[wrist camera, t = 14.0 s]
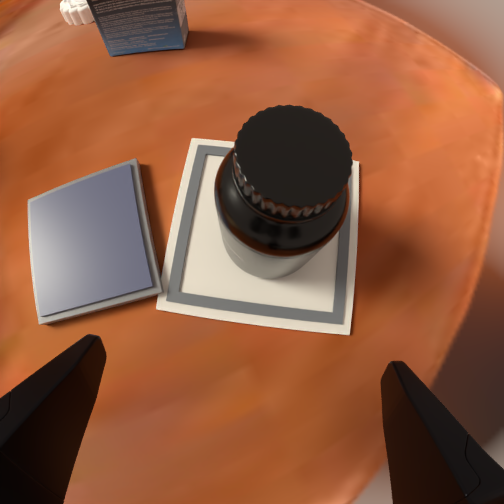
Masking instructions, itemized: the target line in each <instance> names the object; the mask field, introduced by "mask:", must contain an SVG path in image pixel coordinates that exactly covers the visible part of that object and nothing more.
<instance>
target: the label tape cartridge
mask: <svg viewBox="0 0 504 504" xmlns="http://www.w3.org/2000/svg"><path fill="white" fill-rule="evenodd" d="M86 1H87V3H88V6H89V8H90V10H91V13H92V15H93V18H94V20H95V22H96V25H97V27H98V29H99V32H100V34H101V36H102V39H103V41H104V43H105V46H106V48H107V50H108V53H109V55H110V56H117V55H123V54H130V53H137V52H146V51H156V50H168V49H184V48H185V44H186V40H187V35H188V21H187V15H186V8H185V2H184V0H86Z"/></svg>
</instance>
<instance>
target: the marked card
mask: <svg viewBox="0 0 504 504" xmlns="http://www.w3.org/2000/svg"><path fill="white" fill-rule="evenodd" d="M234 143H235V142H229V141H219V140H208V139H196V138H192V140H191V144H190V148H189V151H188V155H187V159H186V163H185V167H184V171H183V176H182V180H181V184H180V188H179V193H178V197H177V201H176V206H175V210H174V215H173V220H172V224H171V229H170V234H169V239H168V244H167V249H166V254H165V260H164V265H163V270H162V276H161V281H162V285H163V289H164V293H161V294H158V299H157V306H156V309H158V310H163V311H169V312H174V313H180V314H186V315H192V316H198V317H204V318H211V319H217V320H224V321H231V322H238V323H245V324H252V325H260V326H268V327H276V328H284V329H293V330H302V331H311V332H321V333H332V334H343V335H350V327H351V318H352V308H353V297H354V285H355V272H356V256H357V237H358V207H359V162H358V161H353V160H352V161H353V165H352V167H351V169H352V174H351V176H350V178H349V180H348V185H349V193H350V200H349V208H348V212H347V215H346V218H345V221H344V223H343V225H342V226H341V228H340V230H339V231H338V232H337V234H336V235H335V236H334V237H333V238H332V240H331V241H330V242H329V243H328V244H327V245H325V246H324V247H323V248H322V249H321V250H320V251H319V252H318V253H317V254H316V255H315V256H314V257H313V258H312V259H310V260H309V261H308V262H307V263H306V264H305V265H304V266H303V267H301V268H300V269H299V270H297V271H296V272H294V273H292V274H290V275H288V276H285V277H282V278H276V279H265V278H259V277H255V276H253V275H250V274H248V273H246V272H245V271H243V270H242V269H240V268H239V267H238V266H237V265H236V264H235V263H234V262H233V261H232V260H231V258H230V257H229V255H228V253H227V251H226V249H225V247H224V243H223V240H222V236H221V231H220V226H219V221H218V216H217V211H216V206H215V199H214V183H215V178H216V174H217V171H218V168H219V166H220V164H221V162H222V160H223V159H224V157H225V156H226V154H227V153H228V152H229V151H230V150H231V149H232V148H233V147H234Z"/></svg>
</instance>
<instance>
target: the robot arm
mask: <svg viewBox="0 0 504 504" xmlns="http://www.w3.org/2000/svg"><path fill="white" fill-rule="evenodd" d="M105 363H106V351H105V348H104V346H103V343H102V340H101V338H100V337H99V336H97V335H92V334H88V335H86V336H84V337H83V338H82V339H80V340H79V341H77V342H76V343H75V344H73V345H72V346H70V347H69V348H68V349H66V350H65V351H63V352H62V353H61V354H59V355H58V356H57V357H55V358H54V359H52V360H51V361H50V362H48V363H47V364H46V365H44V366H43V367H42V368H40V369H39V370H37V371H36V372H35V373H33V374H32V375H31V376H29V377H28V378H27V379H25V380H24V381H23V382H21V383H20V384H19V385H17V386H16V387H15V388H13V389H12V390H11V391H9V392H8V393H7V394H5V395H4V396H3V397H1V398H0V504H63V503H64V499H65V495H66V491H67V488H68V484H69V481H70V477H71V474H72V471H73V467H74V464H75V461H76V457H77V454H78V451H79V448H80V445H81V442H82V439H83V436H84V433H85V430H86V427H87V424H88V421H89V418H90V415H91V412H92V410H93V407H94V404H95V401H96V398H97V394H98V390H99V386H100V382H101V378H102V374H103V370H104V366H105ZM381 397H382V416H383V429H384V436H385V442H386V449H387V457H388V464H389V472H390V481H391V490H392V499H393V504H504V469H503V468H502V467H501V466H500V465H499V464H497V462H495V461H494V460H493V459H492V458H491V457H490V456H489V455H488V454H487V453H486V452H485V451H484V450H483V449H482V448H481V446H480V445H479V444H478V443H477V442H476V441H475V440H474V439H473V438H472V437H471V435H470V434H468V432H467V431H466V430H465V429H464V428H463V427H462V425H461V424H460V423H459V422H458V421H457V420H456V419H455V417H454V416H453V415H452V414H451V413H450V412H449V411H448V410H447V408H445V406H444V405H443V404H442V403H441V402H440V401H439V400H438V399H437V397H436V396H435V395H434V394H433V393H432V392H431V391H430V390H429V389H428V388H427V386H426V385H425V384H424V383H423V382H422V381H421V380H420V379H419V378H418V377H417V376H416V374H415V373H414V372H413V371H412V370H411V369H410V368H409V367H408V366H407V365H406V364H405V363H404V362H403V361H391V362H390V363H389V364H388V366H387V368H386V370H385V372H384V374H383V376H382V378H381Z"/></svg>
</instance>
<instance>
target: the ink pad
mask: <svg viewBox="0 0 504 504" xmlns="http://www.w3.org/2000/svg"><path fill="white" fill-rule="evenodd" d="M28 231H29V248H30V261H31V271H32V280H33V288H34V296H35V303H36V309H37V315H38V321H39V324H42V325H47V324H50V323H54V322H58V321H62V320H66V319H70V318H74V317H78V316H81V315H85V314H89V313H93V312H97V311H101V310H104V309H108V308H112V307H116V306H119V305H123V304H127V303H131V302H134V301H138V300H142V299H146V298H149V297H153V296H157V295H158V294H161V293H164V289H163V285H162V281H161V273H160V269H159V264H158V260H157V255H156V251H155V246H154V241H153V236H152V231H151V226H150V221H149V216H148V211H147V205H146V200H145V194H144V188H143V182H142V176H141V170H140V164H139V162H138V161H137V159H136V158H135V159H132V160H129V161H126V162H123V163H120V164H117V165H115V166H112V167H109V168H106V169H103V170H101V171H98V172H95V173H92V174H90V175H87V176H85V177H82V178H79V179H77V180H74V181H72V182H69V183H67V184H64V185H62V186H59V187H57V188H55V189H52V190H50V191H48V192H45V193H43V194H41V195H38V196H36V197H34V198H32V199H29V200H28Z"/></svg>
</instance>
